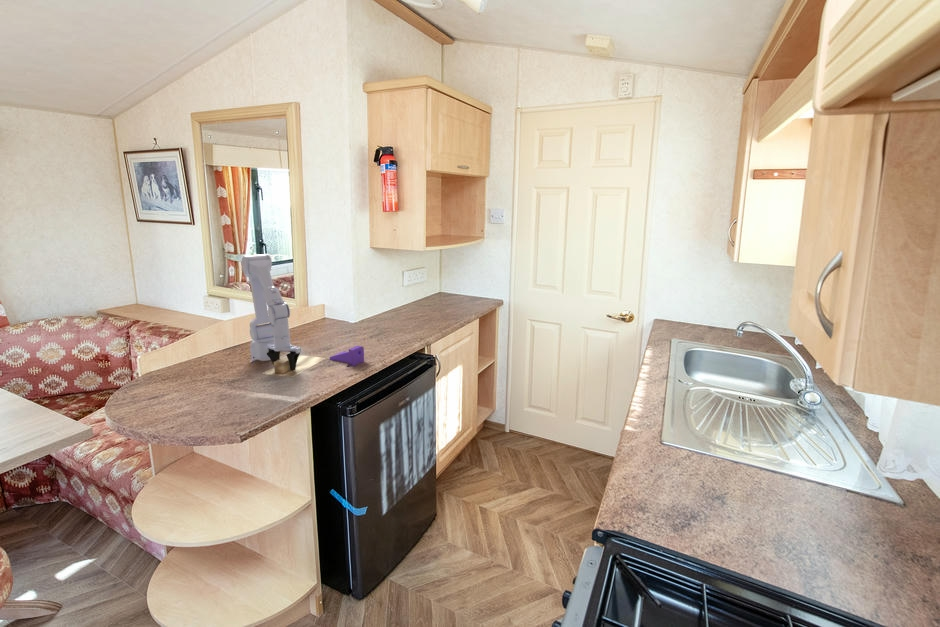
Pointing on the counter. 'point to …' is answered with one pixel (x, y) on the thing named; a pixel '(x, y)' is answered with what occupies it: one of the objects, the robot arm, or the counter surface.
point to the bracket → (350, 356)
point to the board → (298, 366)
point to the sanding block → (282, 366)
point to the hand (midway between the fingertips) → (285, 369)
